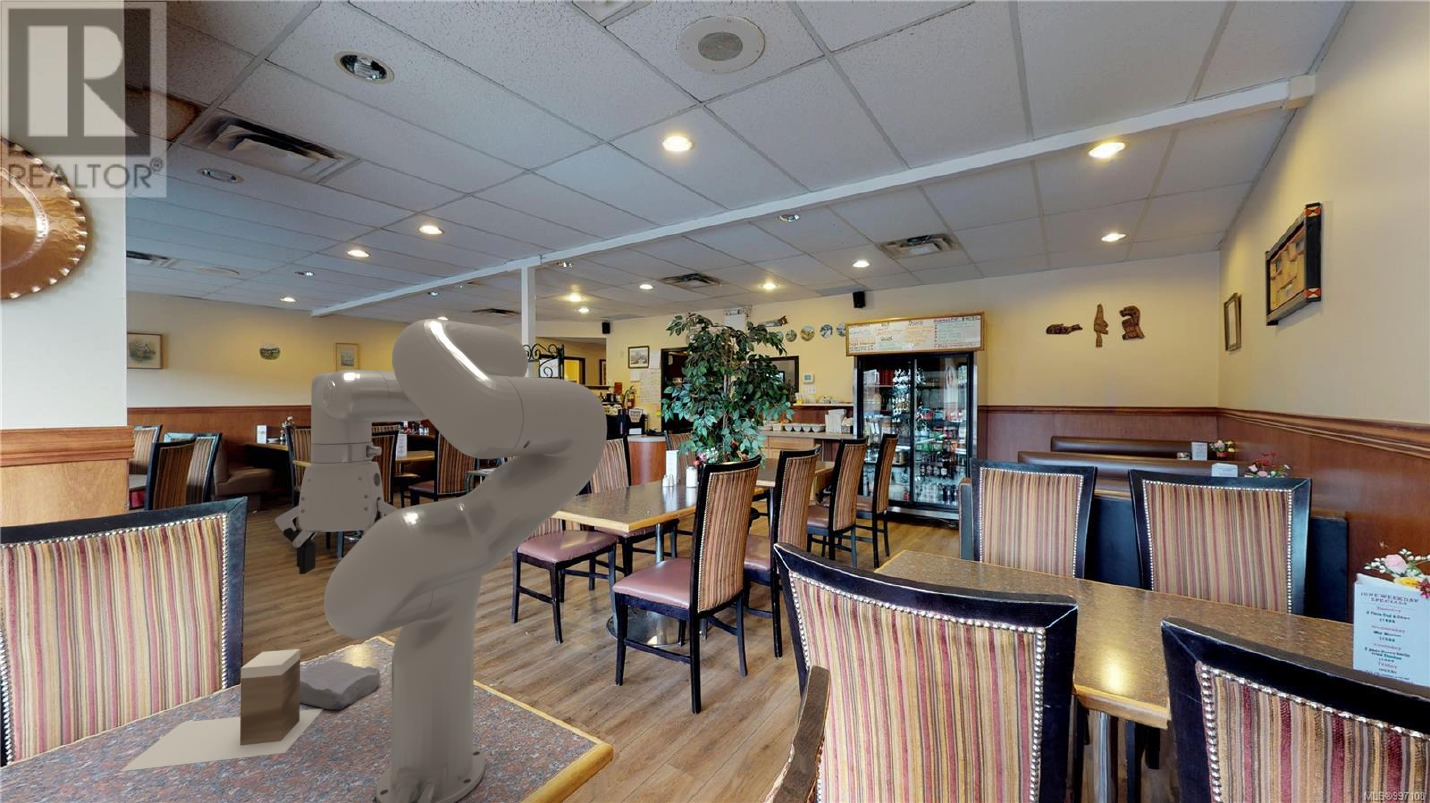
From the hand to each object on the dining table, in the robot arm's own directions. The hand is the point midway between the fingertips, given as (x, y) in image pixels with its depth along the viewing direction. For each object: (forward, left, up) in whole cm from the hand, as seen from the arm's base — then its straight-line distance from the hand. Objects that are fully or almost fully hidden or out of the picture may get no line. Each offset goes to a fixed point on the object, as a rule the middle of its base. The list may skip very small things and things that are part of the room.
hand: (341, 569), depth 81 cm
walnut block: (0, +9, -24) cm, 25 cm away
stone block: (+11, +5, -24) cm, 27 cm away
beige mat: (0, +14, -24) cm, 28 cm away
